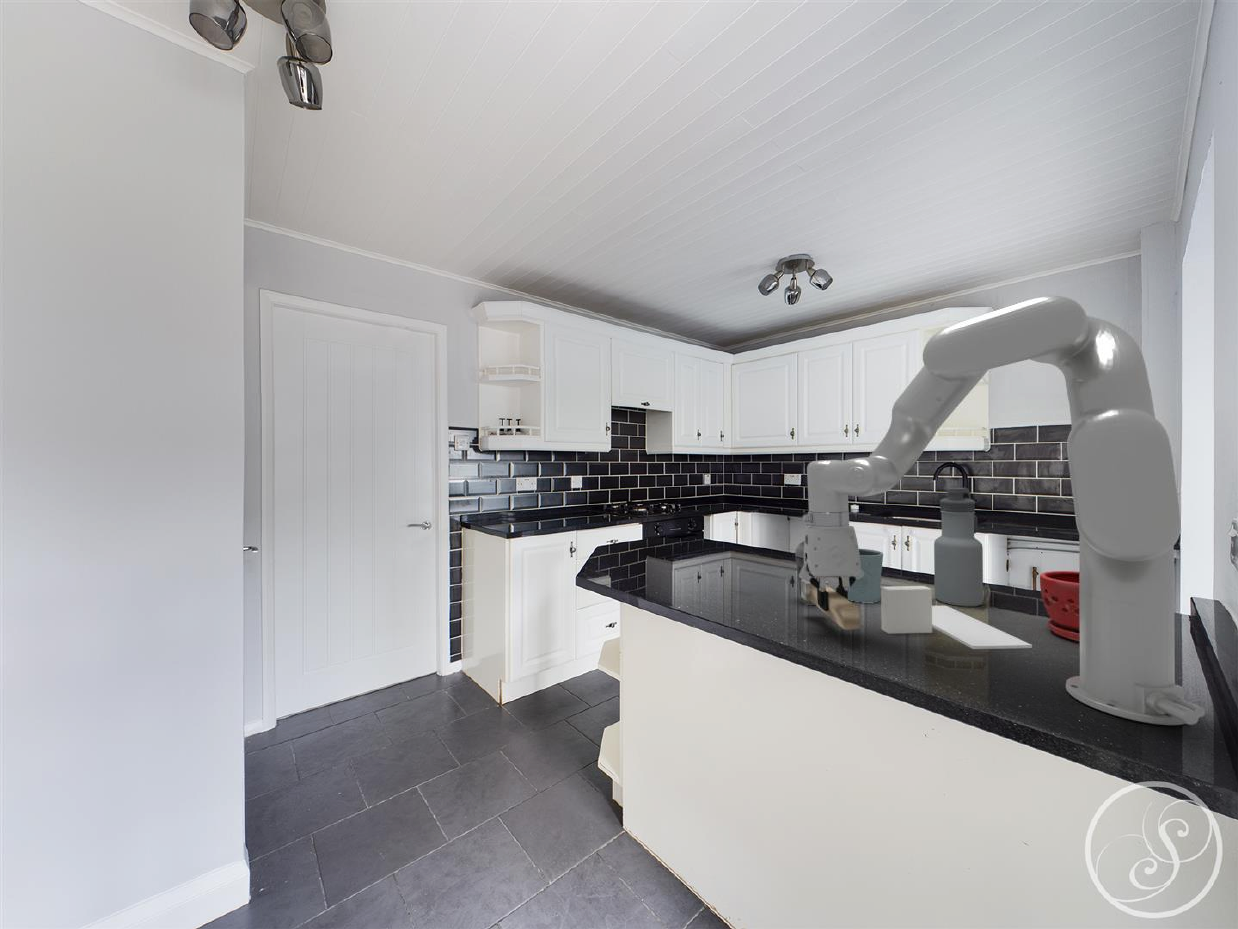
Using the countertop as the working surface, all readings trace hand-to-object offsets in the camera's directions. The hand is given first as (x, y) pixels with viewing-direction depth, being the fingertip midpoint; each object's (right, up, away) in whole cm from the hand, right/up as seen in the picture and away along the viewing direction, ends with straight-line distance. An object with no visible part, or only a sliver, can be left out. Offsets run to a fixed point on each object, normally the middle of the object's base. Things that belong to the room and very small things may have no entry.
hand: (833, 608), depth 100 cm
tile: (+15, -5, +1) cm, 16 cm away
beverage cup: (+4, -5, +21) cm, 22 cm away
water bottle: (+40, -4, +20) cm, 44 cm away
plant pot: (+47, -4, -5) cm, 48 cm away
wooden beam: (0, -1, +1) cm, 2 cm away
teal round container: (+18, -5, +24) cm, 30 cm away
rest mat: (+27, -5, +3) cm, 28 cm away
